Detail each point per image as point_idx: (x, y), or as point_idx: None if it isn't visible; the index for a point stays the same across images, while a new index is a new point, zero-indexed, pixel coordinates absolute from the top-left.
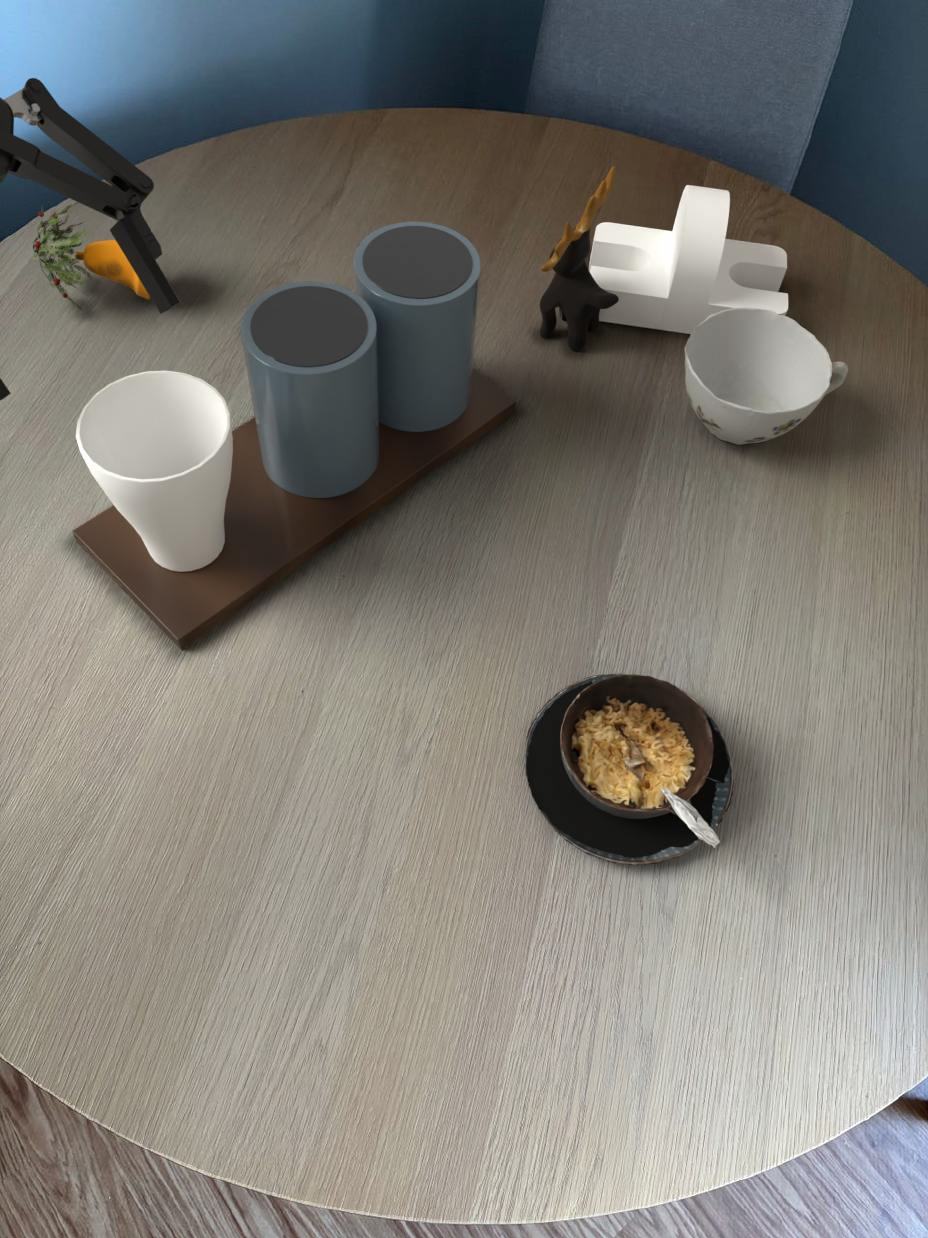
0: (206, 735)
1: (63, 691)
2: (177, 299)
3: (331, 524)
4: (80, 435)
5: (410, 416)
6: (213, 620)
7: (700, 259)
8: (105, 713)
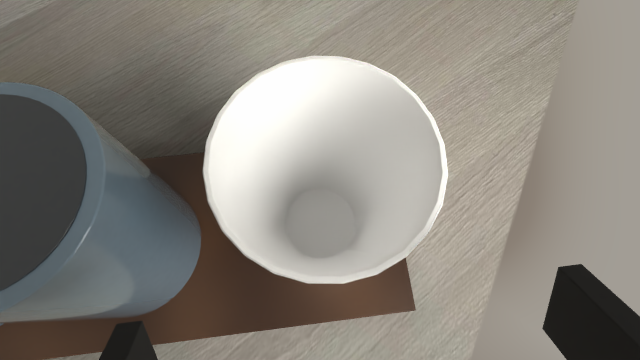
0: (397, 69)
1: (481, 163)
2: (116, 329)
3: (191, 160)
4: (435, 202)
5: None
6: None
7: None
8: (458, 126)
